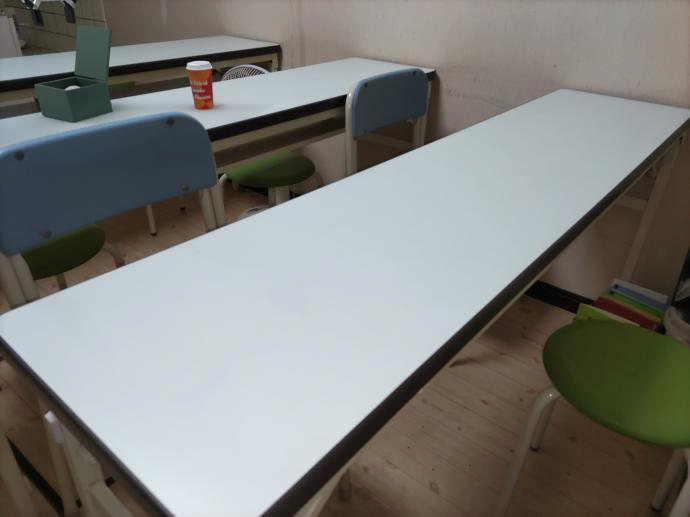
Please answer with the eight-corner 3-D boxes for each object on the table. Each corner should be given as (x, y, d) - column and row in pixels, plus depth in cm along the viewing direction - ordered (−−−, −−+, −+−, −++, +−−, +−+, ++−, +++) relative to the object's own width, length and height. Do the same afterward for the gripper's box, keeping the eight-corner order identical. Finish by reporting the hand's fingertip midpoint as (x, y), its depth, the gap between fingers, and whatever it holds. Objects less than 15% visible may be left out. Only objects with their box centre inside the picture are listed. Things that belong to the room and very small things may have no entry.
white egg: (97, 108, 154) (91, 83, 150) (85, 115, 148) (78, 89, 144) (65, 107, 155) (58, 82, 151) (51, 114, 148) (44, 88, 145)
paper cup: (187, 111, 158) (180, 64, 151) (200, 105, 165) (194, 59, 158) (209, 113, 157) (203, 66, 149) (222, 107, 163) (216, 61, 156)
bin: (73, 123, 144) (66, 91, 140) (42, 115, 149) (34, 84, 145) (112, 112, 155) (106, 82, 150) (82, 105, 160) (75, 76, 155)
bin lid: (110, 29, 146) (112, 29, 147) (77, 24, 151) (80, 25, 152) (105, 80, 149) (107, 81, 150) (74, 74, 155) (76, 75, 155)
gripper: (60, -48, 139) (74, 21, 147) (-3, -51, 125) (16, 25, 134) (79, -47, 136) (92, 23, 144) (16, -50, 122) (35, 28, 131)
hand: (55, 24), depth 139 cm, fingers open, 9 cm apart
